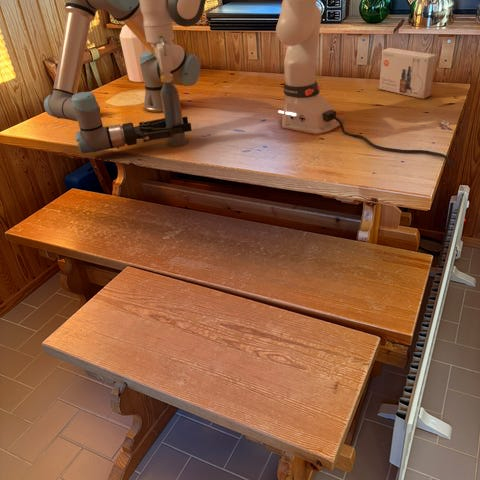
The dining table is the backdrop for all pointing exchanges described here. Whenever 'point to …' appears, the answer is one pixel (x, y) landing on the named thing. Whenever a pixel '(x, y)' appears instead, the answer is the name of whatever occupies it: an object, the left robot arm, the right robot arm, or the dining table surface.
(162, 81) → the cap
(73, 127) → the dining table surface
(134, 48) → the container
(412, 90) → the skincare box
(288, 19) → the right robot arm
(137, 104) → the dining table surface
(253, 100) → the dining table surface
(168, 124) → the bottle
